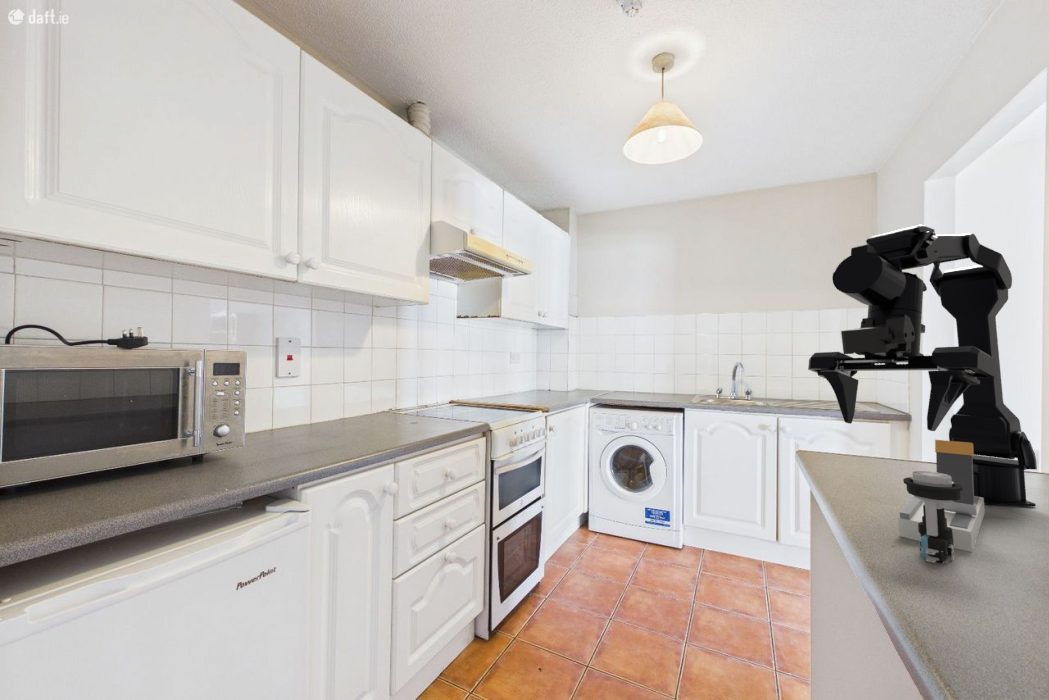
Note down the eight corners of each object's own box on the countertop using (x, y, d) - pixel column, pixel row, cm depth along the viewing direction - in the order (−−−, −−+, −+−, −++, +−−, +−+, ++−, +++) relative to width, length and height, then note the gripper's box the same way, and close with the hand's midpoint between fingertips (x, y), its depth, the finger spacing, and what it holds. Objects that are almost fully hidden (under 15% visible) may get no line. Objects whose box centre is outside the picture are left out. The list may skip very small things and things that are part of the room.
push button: (961, 574, 48) (955, 484, 49) (900, 558, 52) (894, 476, 53) (971, 557, 52) (965, 474, 53) (913, 543, 56) (908, 467, 57)
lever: (936, 509, 62) (935, 441, 64) (976, 516, 59) (974, 445, 61) (934, 508, 61) (934, 439, 63) (975, 515, 58) (973, 442, 60)
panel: (923, 503, 72) (922, 483, 72) (984, 513, 66) (983, 492, 66) (899, 536, 59) (897, 511, 59) (972, 552, 54) (970, 525, 54)
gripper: (791, 308, 64) (780, 410, 62) (958, 285, 48) (953, 423, 45) (833, 327, 69) (825, 423, 67) (999, 312, 52) (995, 439, 50)
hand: (886, 426), depth 57 cm, fingers open, 9 cm apart
